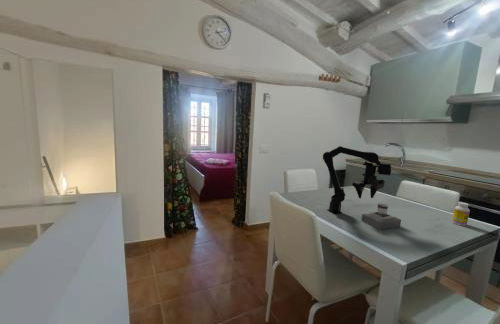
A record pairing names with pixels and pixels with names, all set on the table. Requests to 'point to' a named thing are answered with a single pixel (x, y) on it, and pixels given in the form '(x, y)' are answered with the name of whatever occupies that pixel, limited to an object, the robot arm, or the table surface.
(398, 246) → the table surface
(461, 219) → the supplement bottle
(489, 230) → the table surface
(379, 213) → the lens
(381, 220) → the grey flat block
